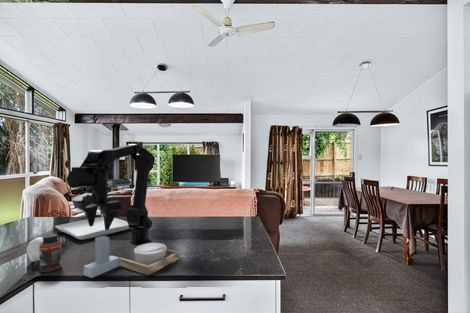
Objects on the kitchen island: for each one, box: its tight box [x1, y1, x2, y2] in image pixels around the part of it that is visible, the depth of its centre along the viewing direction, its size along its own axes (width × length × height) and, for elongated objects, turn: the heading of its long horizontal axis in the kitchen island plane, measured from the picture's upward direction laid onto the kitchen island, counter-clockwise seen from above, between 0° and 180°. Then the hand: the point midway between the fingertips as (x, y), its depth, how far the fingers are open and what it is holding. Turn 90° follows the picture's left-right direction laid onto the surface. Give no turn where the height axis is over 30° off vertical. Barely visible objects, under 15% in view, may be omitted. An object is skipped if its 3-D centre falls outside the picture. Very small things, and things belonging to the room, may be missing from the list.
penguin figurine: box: [25, 236, 43, 262], centre depth 97 cm, size 6×8×12 cm
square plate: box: [54, 216, 130, 240], centre depth 131 cm, size 27×27×4 cm
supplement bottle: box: [39, 233, 62, 273], centre depth 87 cm, size 6×6×11 cm
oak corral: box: [118, 248, 181, 276], centre depth 93 cm, size 15×14×2 cm
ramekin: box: [133, 242, 168, 266], centre depth 93 cm, size 11×11×5 cm
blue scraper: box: [83, 235, 120, 279], centre depth 86 cm, size 4×10×11 cm, turn 152°
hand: (98, 228), depth 94 cm, fingers open, 9 cm apart
